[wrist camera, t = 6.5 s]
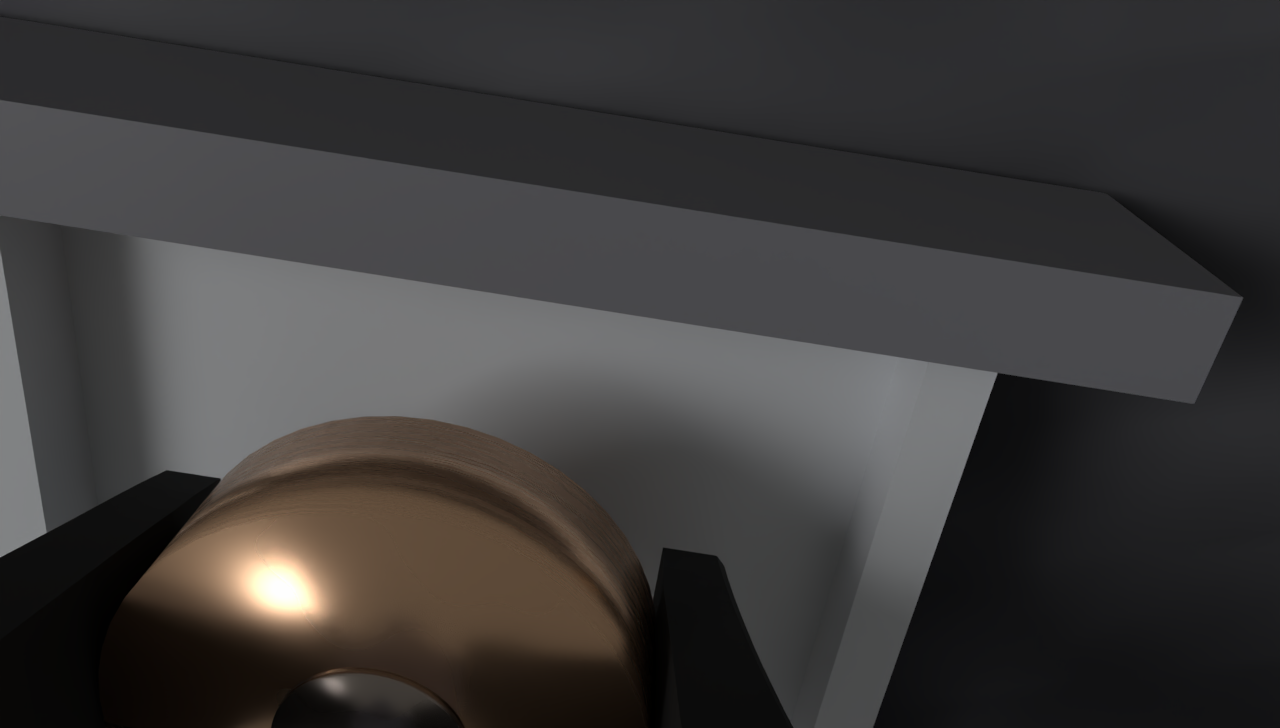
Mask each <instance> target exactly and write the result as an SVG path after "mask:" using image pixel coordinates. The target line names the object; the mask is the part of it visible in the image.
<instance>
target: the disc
mask: <svg viewBox="0 0 1280 728" xmlns="http://www.w3.org/2000/svg"><path fill="white" fill-rule="evenodd" d="M654 630H655V609H654V604H653V600H652V595H651V590H650V586H649V583H648V581H647V578H646V576H645V573H644V571H643V568H642V565H641V563H640V561H639V559H638V557H637V555H636V554H635V552H634V550H633V548H632V546H631V545H630V543H629V541H628V539H627V538H626V536H625V535H624V533H623V532H622V531H621V530H620V528H619V527H618V526H617V524H616V523H615V522H614V520H613V519H612V518H611V517H610V515H609V514H608V513H607V512H606V511H605V510H604V509H603V508H602V507H601V506H600V505H599V504H598V503H597V502H596V501H595V500H594V499H593V498H592V497H591V496H590V495H589V494H588V493H587V492H586V491H585V490H584V489H583V488H581V487H580V486H579V485H578V484H576V483H575V482H574V481H573V480H571V479H570V478H569V477H567V476H566V475H565V474H564V473H562V472H561V471H560V470H558V469H557V468H555V467H553V466H552V465H550V464H548V463H547V462H545V461H543V460H542V459H540V458H539V457H537V456H535V455H534V454H532V453H530V452H528V451H526V450H524V449H522V448H519V447H517V446H515V445H513V444H511V443H509V442H506V441H504V440H502V439H500V438H497V437H494V436H491V435H488V434H485V433H482V432H479V431H476V430H473V429H471V428H468V427H463V426H459V425H454V424H450V423H445V422H441V421H436V420H430V419H421V418H411V417H401V416H368V417H357V418H349V419H342V420H334V421H329V422H325V423H322V424H318V425H314V426H310V427H307V428H303V429H300V430H297V431H295V432H293V433H290V434H288V435H285V436H283V437H281V438H278V439H276V440H273V441H272V442H270V443H268V444H267V445H265V446H263V447H262V448H260V449H258V450H257V451H255V452H253V453H252V454H250V455H248V456H247V457H246V458H245V459H244V460H242V461H241V462H240V463H239V464H238V465H236V466H235V467H234V468H233V469H232V470H231V471H229V472H228V473H227V474H226V475H225V477H224V478H223V479H222V480H221V481H220V482H219V484H218V485H217V486H216V487H215V488H214V490H213V491H212V492H211V493H210V494H209V495H208V497H207V498H206V499H205V500H204V502H203V503H202V504H201V505H200V506H199V508H198V509H197V510H196V511H195V513H194V514H193V515H192V516H191V517H190V519H189V520H188V521H187V522H186V524H185V525H184V526H183V527H182V528H181V530H180V531H179V532H178V533H177V535H176V536H175V537H174V538H173V539H172V541H171V542H170V543H169V544H168V545H167V547H166V548H165V549H164V550H163V552H162V553H161V554H160V555H159V556H158V558H157V559H156V560H155V561H154V563H153V564H152V565H151V566H150V567H149V569H148V570H147V571H146V572H145V574H144V575H143V576H142V577H141V578H140V580H139V581H138V582H137V583H136V585H135V586H134V587H133V588H132V589H131V591H130V592H129V593H128V594H127V596H126V597H125V598H124V599H123V601H122V603H121V605H120V606H119V608H118V610H117V612H116V613H115V615H114V617H113V619H112V620H111V622H110V625H109V628H108V631H107V634H106V637H105V640H104V643H103V645H102V650H101V657H100V665H99V672H98V677H99V697H100V703H101V708H102V712H103V717H104V721H105V726H106V728H650V725H651V709H652V694H653V662H654Z"/></svg>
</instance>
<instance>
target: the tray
mask: <svg viewBox="0 0 1280 728" xmlns="http://www.w3.org/2000/svg"><path fill="white" fill-rule="evenodd" d="M1242 299H1243V297H1242V296H1241V295H1239V294H1238V293H1237V292H1235V291H1234V290H1233V289H1231V288H1230V287H1229V286H1227V285H1226V284H1225V283H1223V282H1222V281H1221V280H1219V279H1218V278H1217V277H1216V276H1214V275H1213V274H1212V273H1210V272H1209V271H1208V270H1206V269H1205V268H1204V267H1202V266H1201V265H1200V264H1198V263H1197V262H1196V261H1194V260H1193V259H1192V258H1191V257H1189V256H1188V255H1187V254H1185V253H1184V252H1183V251H1181V250H1180V249H1179V248H1177V247H1176V246H1175V245H1173V244H1172V243H1171V242H1169V241H1168V240H1167V239H1166V238H1164V237H1163V236H1162V235H1160V234H1159V233H1158V232H1156V231H1155V230H1154V229H1152V228H1151V227H1150V226H1148V225H1147V224H1146V223H1144V222H1143V221H1142V220H1141V219H1139V218H1138V217H1137V216H1135V215H1134V214H1133V213H1131V212H1130V211H1129V210H1127V209H1126V208H1125V207H1123V206H1122V205H1121V204H1119V203H1118V202H1117V201H1116V200H1114V199H1113V198H1112V197H1110V196H1109V195H1108V194H1106V193H1101V192H1095V191H1089V190H1082V189H1076V188H1070V187H1064V186H1057V185H1051V184H1045V183H1038V182H1032V181H1026V180H1020V179H1013V178H1007V177H1001V176H995V175H988V174H982V173H976V172H970V171H963V170H957V169H951V168H945V167H938V166H932V165H926V164H920V163H913V162H907V161H901V160H895V159H888V158H882V157H876V156H870V155H863V154H857V153H851V152H845V151H838V150H832V149H826V148H819V147H813V146H807V145H801V144H794V143H788V142H782V141H776V140H769V139H763V138H757V137H751V136H744V135H738V134H732V133H726V132H719V131H713V130H707V129H701V128H694V127H688V126H682V125H676V124H669V123H663V122H657V121H651V120H644V119H638V118H632V117H626V116H619V115H613V114H607V113H600V112H594V111H588V110H582V109H575V108H569V107H563V106H557V105H550V104H544V103H538V102H532V101H525V100H519V99H513V98H507V97H500V96H494V95H488V94H482V93H475V92H469V91H463V90H457V89H450V88H444V87H438V86H432V85H425V84H419V83H413V82H407V81H400V80H394V79H388V78H382V77H375V76H369V75H363V74H356V73H350V72H344V71H338V70H331V69H325V68H319V67H313V66H306V65H300V64H294V63H288V62H281V61H275V60H269V59H263V58H256V57H250V56H244V55H238V54H231V53H225V52H219V51H213V50H206V49H200V48H194V47H188V46H181V45H175V44H169V43H163V42H156V41H150V40H144V39H137V38H131V37H125V36H119V35H112V34H106V33H100V32H94V31H87V30H81V29H75V28H69V27H62V26H56V25H50V24H44V23H37V22H31V21H25V20H19V19H12V18H6V17H0V557H2V556H4V555H6V554H8V553H9V552H11V551H13V550H15V549H17V548H19V547H21V546H23V545H25V544H27V543H28V542H30V541H32V540H34V539H36V538H38V537H40V536H42V535H44V534H45V533H47V532H49V531H51V530H53V529H55V528H57V527H59V526H61V525H62V524H64V523H66V522H68V521H70V520H72V519H74V518H75V517H77V516H79V515H81V514H83V513H85V512H86V511H88V510H90V509H92V508H94V507H96V506H98V505H99V504H101V503H103V502H105V501H107V500H109V499H111V498H112V497H114V496H116V495H118V494H120V493H122V492H124V491H126V490H128V489H129V488H131V487H133V486H135V485H137V484H139V483H141V482H143V481H145V480H147V479H149V478H151V477H153V476H155V475H158V474H160V473H162V472H164V471H166V470H170V471H176V472H183V473H189V474H195V475H202V476H208V477H215V478H221V480H222V479H223V478H224V477H225V475H226V474H227V473H228V472H229V471H231V470H232V469H233V468H234V467H235V466H236V465H238V464H239V463H240V462H241V461H242V460H244V459H245V458H246V457H247V456H248V455H250V454H252V453H253V452H255V451H257V450H258V449H260V448H262V447H263V446H265V445H267V444H268V443H270V442H272V441H273V440H276V439H278V438H281V437H283V436H285V435H288V434H290V433H293V432H295V431H297V430H300V429H303V428H307V427H310V426H314V425H318V424H322V423H325V422H329V421H334V420H342V419H349V418H357V417H368V416H401V417H411V418H421V419H430V420H436V421H441V422H445V423H450V424H454V425H459V426H463V427H468V428H471V429H473V430H476V431H479V432H482V433H485V434H488V435H491V436H494V437H497V438H500V439H502V440H504V441H506V442H509V443H511V444H513V445H515V446H517V447H519V448H522V449H524V450H526V451H528V452H530V453H532V454H534V455H535V456H537V457H539V458H540V459H542V460H543V461H545V462H547V463H548V464H550V465H552V466H553V467H555V468H557V469H558V470H560V471H561V472H562V473H564V474H565V475H566V476H567V477H569V478H570V479H571V480H573V481H574V482H575V483H576V484H578V485H579V486H580V487H581V488H583V489H584V490H585V491H586V492H587V493H588V494H589V495H590V496H591V497H592V498H593V499H594V500H595V501H596V502H597V503H598V504H599V505H600V506H601V507H602V508H603V509H604V510H605V511H606V512H607V513H608V514H609V515H610V517H611V518H612V519H613V520H614V522H615V523H616V524H617V526H618V527H619V528H620V530H621V531H622V532H623V533H624V535H625V536H626V538H627V539H628V541H629V543H630V545H631V546H632V548H633V550H634V552H635V554H636V555H637V557H638V559H639V561H640V563H641V565H642V568H643V571H644V573H645V576H646V578H647V581H648V583H649V586H650V590H651V595H652V600H653V597H654V591H655V586H656V581H657V576H658V571H659V566H660V560H661V555H662V550H663V547H664V548H670V549H677V550H683V551H690V552H696V553H702V554H709V555H715V556H717V557H718V558H719V559H720V561H721V562H722V563H723V565H724V566H725V570H726V573H727V577H728V580H729V583H730V586H731V589H732V592H733V595H734V597H735V600H736V603H737V606H738V608H739V611H740V613H741V616H742V619H743V621H744V623H745V626H746V628H747V631H748V633H749V635H750V638H751V640H752V643H753V645H754V647H755V650H756V652H757V654H758V656H759V659H760V661H761V663H762V665H763V667H764V669H765V671H766V673H767V676H768V678H769V680H770V682H771V684H772V686H773V688H774V690H775V692H776V694H777V696H778V698H779V700H780V702H781V704H782V707H783V709H784V711H785V713H786V715H787V716H788V718H789V720H790V722H791V724H792V726H793V728H873V726H874V723H875V720H876V717H877V715H878V712H879V709H880V706H881V703H882V700H883V698H884V695H885V692H886V689H887V686H888V683H889V680H890V678H891V675H892V672H893V669H894V666H895V663H896V661H897V658H898V655H899V652H900V649H901V646H902V643H903V641H904V638H905V635H906V632H907V629H908V626H909V624H910V621H911V618H912V615H913V612H914V609H915V606H916V604H917V601H918V598H919V595H920V592H921V589H922V587H923V584H924V581H925V578H926V575H927V572H928V570H929V567H930V564H931V561H932V558H933V555H934V552H935V550H936V547H937V544H938V541H939V538H940V535H941V533H942V530H943V527H944V524H945V521H946V518H947V515H948V513H949V510H950V507H951V504H952V501H953V498H954V496H955V493H956V490H957V487H958V484H959V481H960V479H961V476H962V473H963V470H964V467H965V464H966V461H967V459H968V456H969V453H970V450H971V447H972V444H973V442H974V439H975V436H976V433H977V430H978V427H979V424H980V422H981V419H982V416H983V413H984V410H985V407H986V405H987V402H988V399H989V396H990V393H991V390H992V387H993V385H994V382H995V379H996V376H997V373H1001V374H1008V375H1014V376H1020V377H1027V378H1033V379H1039V380H1046V381H1052V382H1058V383H1065V384H1071V385H1077V386H1084V387H1090V388H1096V389H1103V390H1109V391H1115V392H1122V393H1128V394H1134V395H1141V396H1147V397H1153V398H1160V399H1166V400H1172V401H1179V402H1185V403H1191V404H1194V403H1195V401H1196V399H1197V397H1198V395H1199V392H1200V390H1201V388H1202V386H1203V384H1204V382H1205V379H1206V377H1207V375H1208V373H1209V371H1210V369H1211V366H1212V364H1213V362H1214V360H1215V358H1216V356H1217V353H1218V351H1219V349H1220V347H1221V345H1222V343H1223V341H1224V338H1225V336H1226V334H1227V332H1228V330H1229V328H1230V325H1231V323H1232V321H1233V319H1234V317H1235V315H1236V312H1237V310H1238V308H1239V306H1240V304H1241V302H1242Z"/></svg>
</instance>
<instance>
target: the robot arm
mask: <svg viewBox="0 0 1280 728" xmlns="http://www.w3.org/2000/svg"><path fill="white" fill-rule="evenodd" d="M220 481H221V478H215V477H208V476H202V475H195V474H189V473H183V472H176V471H170V470H166V471H164V472H162V473H160V474H158V475H155V476H153V477H151V478H149V479H147V480H145V481H143V482H141V483H139V484H137V485H135V486H133V487H131V488H129V489H128V490H126V491H124V492H122V493H120V494H118V495H116V496H114V497H112V498H111V499H109V500H107V501H105V502H103V503H101V504H99V505H98V506H96V507H94V508H92V509H90V510H88V511H86V512H85V513H83V514H81V515H79V516H77V517H75V518H74V519H72V520H70V521H68V522H66V523H64V524H62V525H61V526H59V527H57V528H55V529H53V530H51V531H49V532H47V533H45V534H44V535H42V536H40V537H38V538H36V539H34V540H32V541H30V542H28V543H27V544H25V545H23V546H21V547H19V548H17V549H15V550H13V551H11V552H9V553H8V554H6V555H4V556H2V557H0V728H106V726H105V721H104V717H103V712H102V708H101V703H100V697H99V677H98V672H99V665H100V657H101V650H102V645H103V643H104V640H105V637H106V634H107V631H108V628H109V625H110V622H111V620H112V619H113V617H114V615H115V613H116V612H117V610H118V608H119V606H120V605H121V603H122V601H123V599H124V598H125V597H126V596H127V594H128V593H129V592H130V591H131V589H132V588H133V587H134V586H135V585H136V583H137V582H138V581H139V580H140V578H141V577H142V576H143V575H144V574H145V572H146V571H147V570H148V569H149V567H150V566H151V565H152V564H153V563H154V561H155V560H156V559H157V558H158V556H159V555H160V554H161V553H162V552H163V550H164V549H165V548H166V547H167V545H168V544H169V543H170V542H171V541H172V539H173V538H174V537H175V536H176V535H177V533H178V532H179V531H180V530H181V528H182V527H183V526H184V525H185V524H186V522H187V521H188V520H189V519H190V517H191V516H192V515H193V514H194V513H195V511H196V510H197V509H198V508H199V506H200V505H201V504H202V503H203V502H204V500H205V499H206V498H207V497H208V495H209V494H210V493H211V492H212V491H213V490H214V488H215V487H216V486H217V485H218V484H219V482H220ZM653 604H654V609H655V630H654V662H653V694H652V709H651V725H650V728H793V726H792V724H791V722H790V720H789V718H788V716H787V715H786V713H785V711H784V709H783V707H782V704H781V702H780V700H779V698H778V696H777V694H776V692H775V690H774V688H773V686H772V684H771V682H770V680H769V678H768V676H767V673H766V671H765V669H764V667H763V665H762V663H761V661H760V659H759V656H758V654H757V652H756V650H755V647H754V645H753V643H752V640H751V638H750V635H749V633H748V631H747V628H746V626H745V623H744V621H743V619H742V616H741V613H740V611H739V608H738V606H737V603H736V600H735V597H734V595H733V592H732V589H731V586H730V583H729V580H728V577H727V573H726V570H725V566H724V565H723V563H722V562H721V561H720V559H719V558H718V557H717V556H715V555H709V554H702V553H696V552H690V551H683V550H677V549H670V548H664V547H663V550H662V555H661V560H660V566H659V571H658V576H657V581H656V586H655V591H654V597H653Z"/></svg>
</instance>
